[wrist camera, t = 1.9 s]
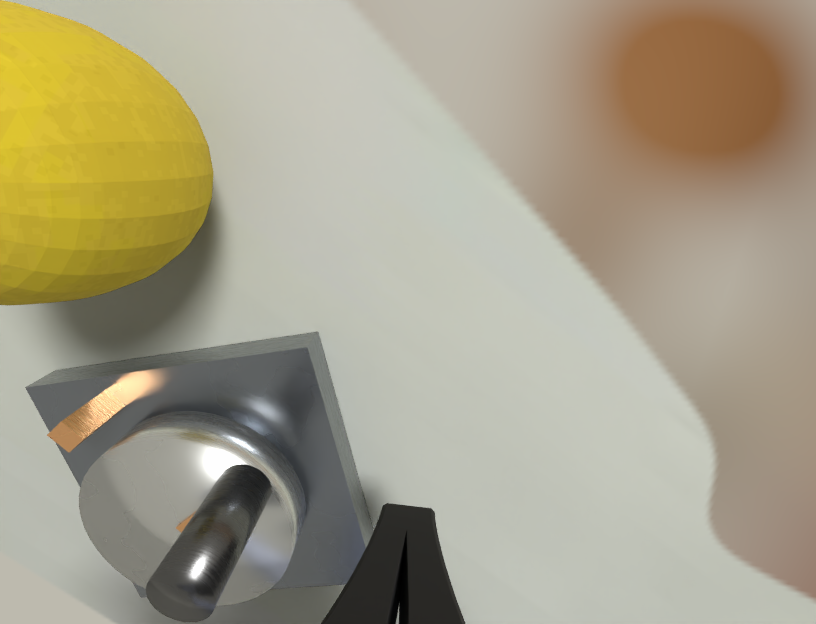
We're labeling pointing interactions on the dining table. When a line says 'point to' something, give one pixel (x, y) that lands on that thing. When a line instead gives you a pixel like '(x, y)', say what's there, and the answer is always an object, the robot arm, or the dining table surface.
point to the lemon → (90, 162)
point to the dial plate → (240, 401)
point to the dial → (194, 511)
